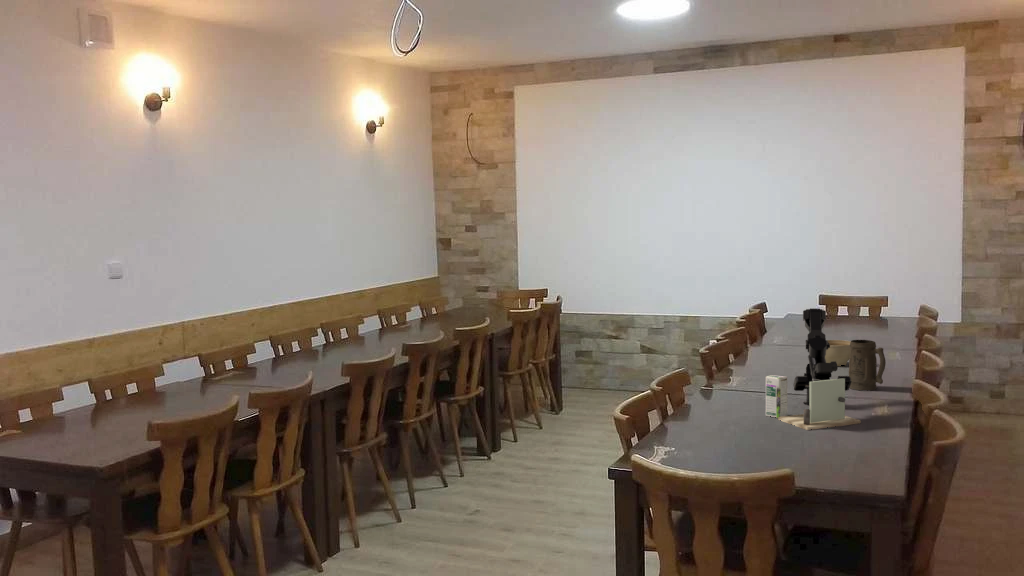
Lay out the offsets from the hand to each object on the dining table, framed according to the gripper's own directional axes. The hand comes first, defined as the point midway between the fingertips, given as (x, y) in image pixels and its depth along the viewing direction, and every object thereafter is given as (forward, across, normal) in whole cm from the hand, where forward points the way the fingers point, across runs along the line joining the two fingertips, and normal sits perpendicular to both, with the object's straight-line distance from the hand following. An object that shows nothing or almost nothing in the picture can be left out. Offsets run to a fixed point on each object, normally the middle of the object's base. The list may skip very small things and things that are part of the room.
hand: (826, 403), depth 289 cm
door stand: (+3, -2, +6) cm, 7 cm away
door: (+6, 0, +2) cm, 6 cm away
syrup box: (-2, -15, +12) cm, 19 cm away
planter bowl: (-75, +32, +84) cm, 118 cm away
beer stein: (-36, +31, +45) cm, 65 cm away
